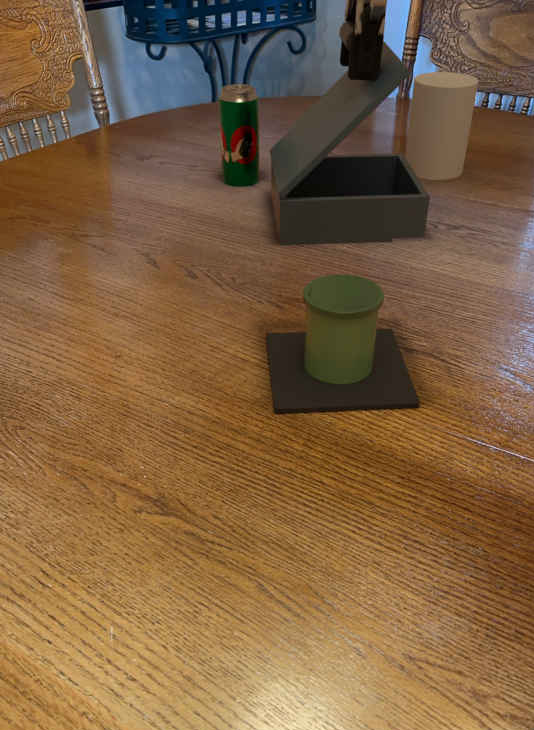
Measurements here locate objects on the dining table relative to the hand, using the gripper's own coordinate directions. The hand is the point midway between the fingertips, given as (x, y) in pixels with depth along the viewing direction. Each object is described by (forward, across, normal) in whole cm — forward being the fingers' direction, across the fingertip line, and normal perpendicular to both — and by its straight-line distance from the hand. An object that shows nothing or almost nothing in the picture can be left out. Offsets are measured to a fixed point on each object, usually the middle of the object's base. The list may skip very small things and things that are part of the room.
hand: (358, 70), depth 75 cm
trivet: (+17, -32, +5) cm, 37 cm away
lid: (+5, 0, +2) cm, 5 cm away
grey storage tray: (+17, 0, 0) cm, 17 cm away
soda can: (+17, +14, +12) cm, 25 cm away
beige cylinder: (+16, +16, -15) cm, 27 cm away
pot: (+16, -32, +5) cm, 36 cm away
